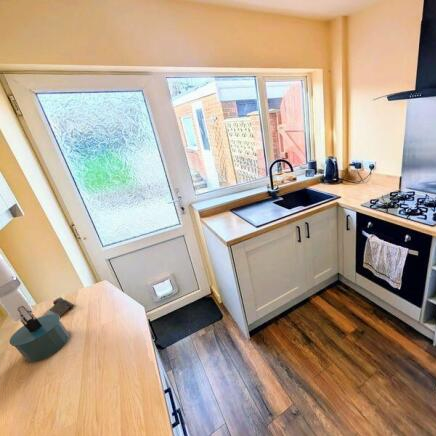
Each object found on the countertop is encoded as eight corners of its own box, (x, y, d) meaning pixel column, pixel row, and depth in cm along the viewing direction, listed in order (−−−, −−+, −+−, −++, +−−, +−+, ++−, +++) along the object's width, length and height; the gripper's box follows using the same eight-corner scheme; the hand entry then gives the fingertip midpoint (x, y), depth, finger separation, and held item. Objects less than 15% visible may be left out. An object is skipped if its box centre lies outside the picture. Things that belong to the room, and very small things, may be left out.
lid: (17, 353, 80) (5, 339, 77) (6, 338, 87) (-6, 324, 84) (66, 323, 90) (57, 310, 87) (53, 311, 97) (44, 298, 94)
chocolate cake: (39, 316, 108) (35, 308, 100) (53, 302, 113) (51, 293, 105) (62, 325, 110) (60, 318, 102) (75, 310, 115) (74, 302, 107)
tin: (32, 368, 84) (18, 351, 80) (21, 353, 90) (7, 337, 86) (74, 339, 93) (64, 323, 90) (62, 327, 99) (51, 312, 96)
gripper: (-19, 287, 81) (13, 327, 89) (-7, 302, 73) (28, 344, 81) (12, 274, 87) (40, 312, 94) (26, 286, 79) (56, 327, 86)
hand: (34, 326), depth 87 cm, fingers closed on lid, 3 cm apart
